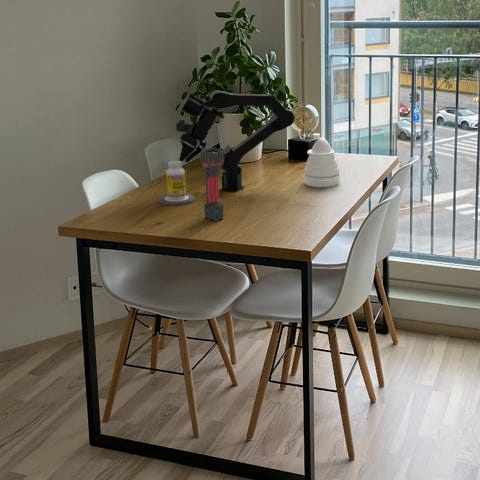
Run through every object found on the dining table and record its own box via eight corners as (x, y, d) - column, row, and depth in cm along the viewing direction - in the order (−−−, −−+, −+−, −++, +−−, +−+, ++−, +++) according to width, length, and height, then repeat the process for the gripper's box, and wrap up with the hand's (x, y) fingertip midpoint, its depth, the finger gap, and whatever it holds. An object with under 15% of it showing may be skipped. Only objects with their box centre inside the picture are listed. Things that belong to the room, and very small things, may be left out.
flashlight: (218, 224, 280) (215, 152, 273) (198, 221, 284) (194, 150, 277) (231, 217, 286) (229, 147, 279) (211, 214, 290) (208, 146, 283)
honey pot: (299, 185, 323) (299, 137, 318) (310, 177, 334) (310, 130, 329) (333, 188, 318) (333, 138, 313) (343, 179, 330) (343, 131, 324)
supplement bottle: (171, 201, 304) (169, 164, 301) (164, 197, 310) (162, 161, 306) (189, 198, 307) (187, 162, 303) (181, 194, 313) (179, 158, 309)
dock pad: (202, 197, 311) (202, 195, 311) (182, 207, 300) (182, 204, 300) (171, 194, 317) (171, 192, 317) (150, 203, 307) (150, 200, 306)
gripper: (191, 113, 322) (170, 151, 325) (179, 110, 304) (157, 149, 306) (217, 129, 321) (196, 166, 323) (206, 126, 303) (184, 166, 305)
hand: (183, 161), depth 314 cm, fingers open, 9 cm apart
